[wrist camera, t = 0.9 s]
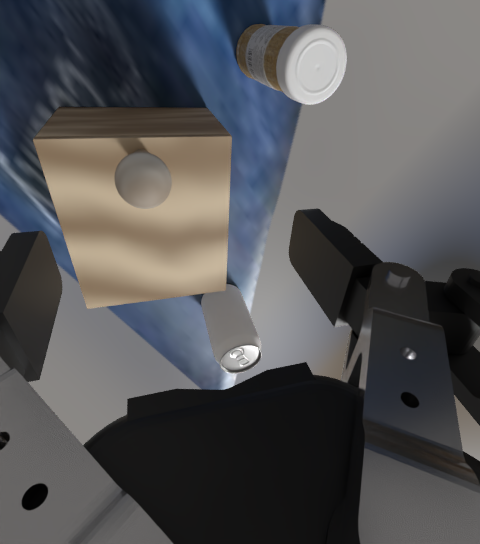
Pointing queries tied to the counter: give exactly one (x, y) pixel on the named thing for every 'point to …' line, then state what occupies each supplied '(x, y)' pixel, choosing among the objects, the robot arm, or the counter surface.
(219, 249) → the wooden box lid
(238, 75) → the counter surface
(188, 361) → the counter surface
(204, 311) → the can
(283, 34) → the sprinkles bottle
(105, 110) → the wooden box
